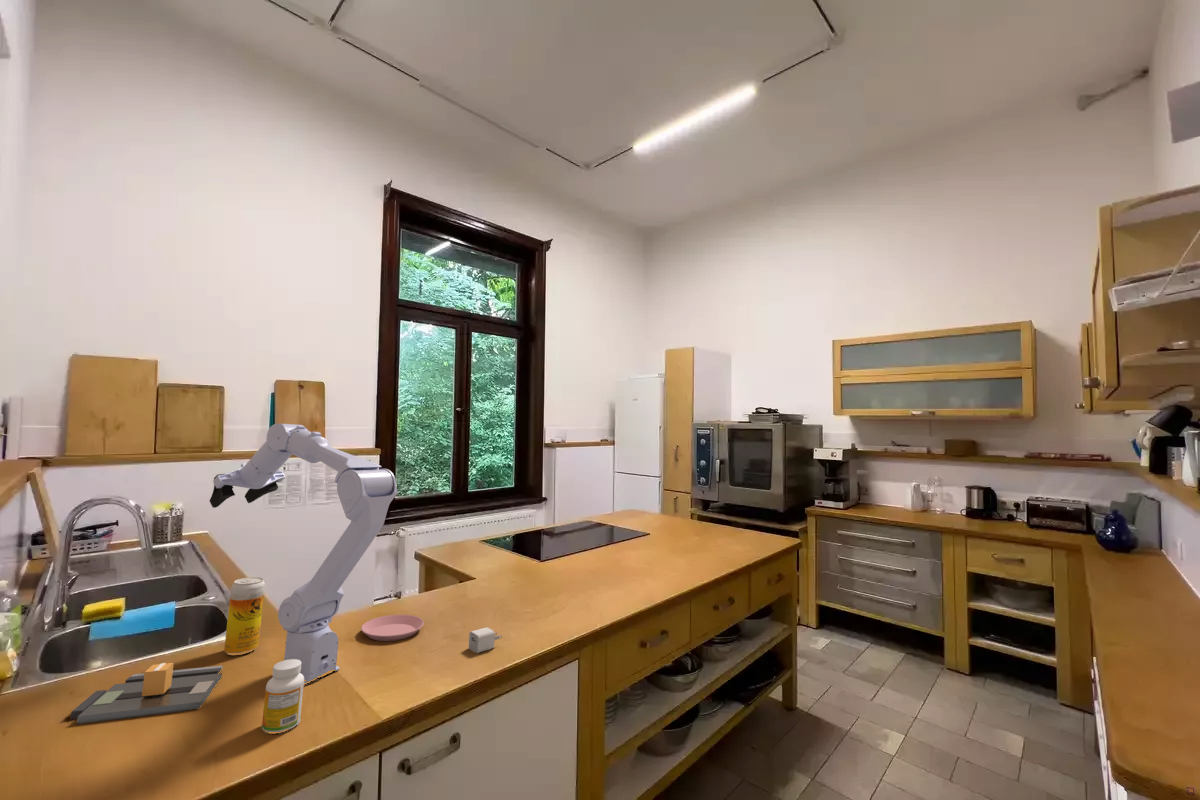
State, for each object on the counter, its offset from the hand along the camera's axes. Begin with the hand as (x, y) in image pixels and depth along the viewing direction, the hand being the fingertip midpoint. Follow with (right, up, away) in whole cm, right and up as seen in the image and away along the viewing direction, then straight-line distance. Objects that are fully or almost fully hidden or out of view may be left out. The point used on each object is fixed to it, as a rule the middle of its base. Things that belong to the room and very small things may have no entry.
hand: (230, 501), depth 112 cm
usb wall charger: (+58, -35, +3) cm, 67 cm away
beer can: (+6, -32, -5) cm, 33 cm away
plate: (+33, -34, +9) cm, 49 cm away
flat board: (+4, -30, -23) cm, 38 cm away
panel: (+6, -30, -26) cm, 40 cm away
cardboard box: (+6, -28, -26) cm, 38 cm away
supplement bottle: (+32, -31, -31) cm, 54 cm away
